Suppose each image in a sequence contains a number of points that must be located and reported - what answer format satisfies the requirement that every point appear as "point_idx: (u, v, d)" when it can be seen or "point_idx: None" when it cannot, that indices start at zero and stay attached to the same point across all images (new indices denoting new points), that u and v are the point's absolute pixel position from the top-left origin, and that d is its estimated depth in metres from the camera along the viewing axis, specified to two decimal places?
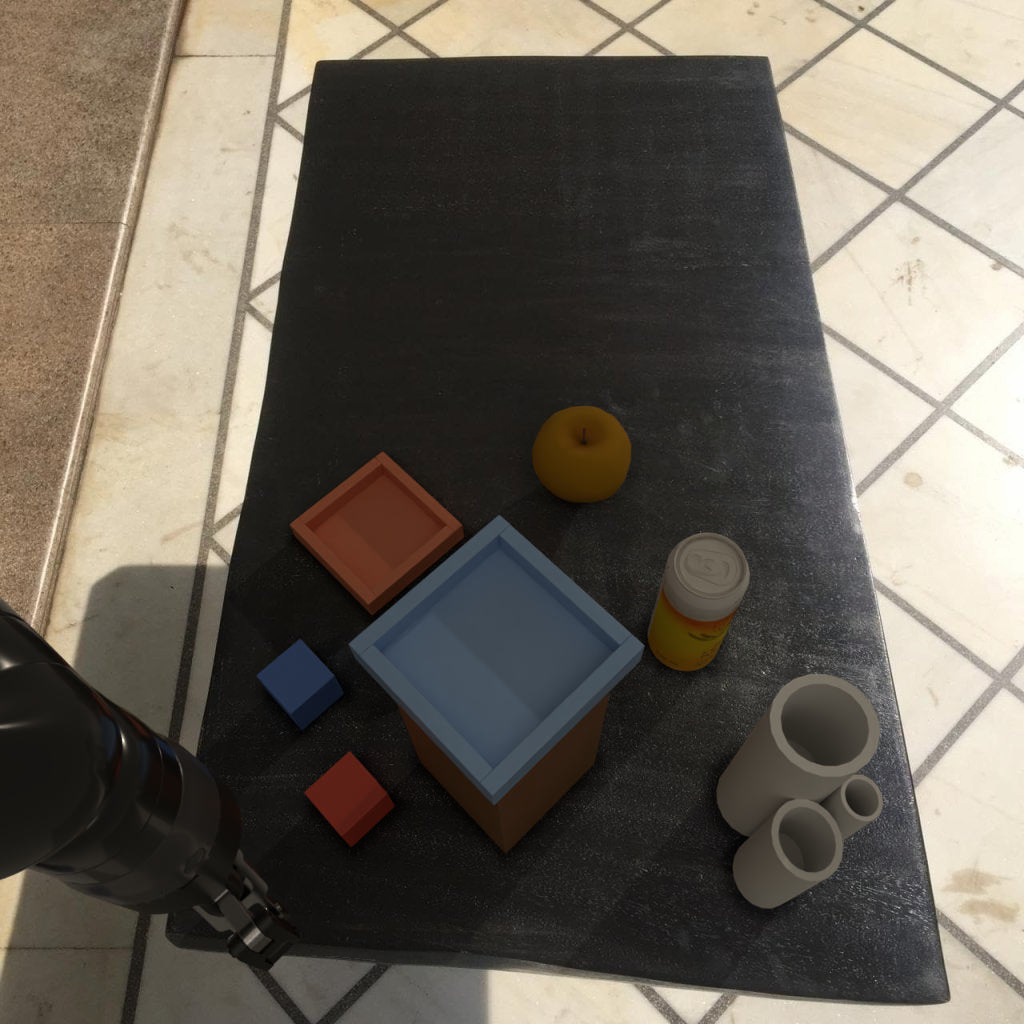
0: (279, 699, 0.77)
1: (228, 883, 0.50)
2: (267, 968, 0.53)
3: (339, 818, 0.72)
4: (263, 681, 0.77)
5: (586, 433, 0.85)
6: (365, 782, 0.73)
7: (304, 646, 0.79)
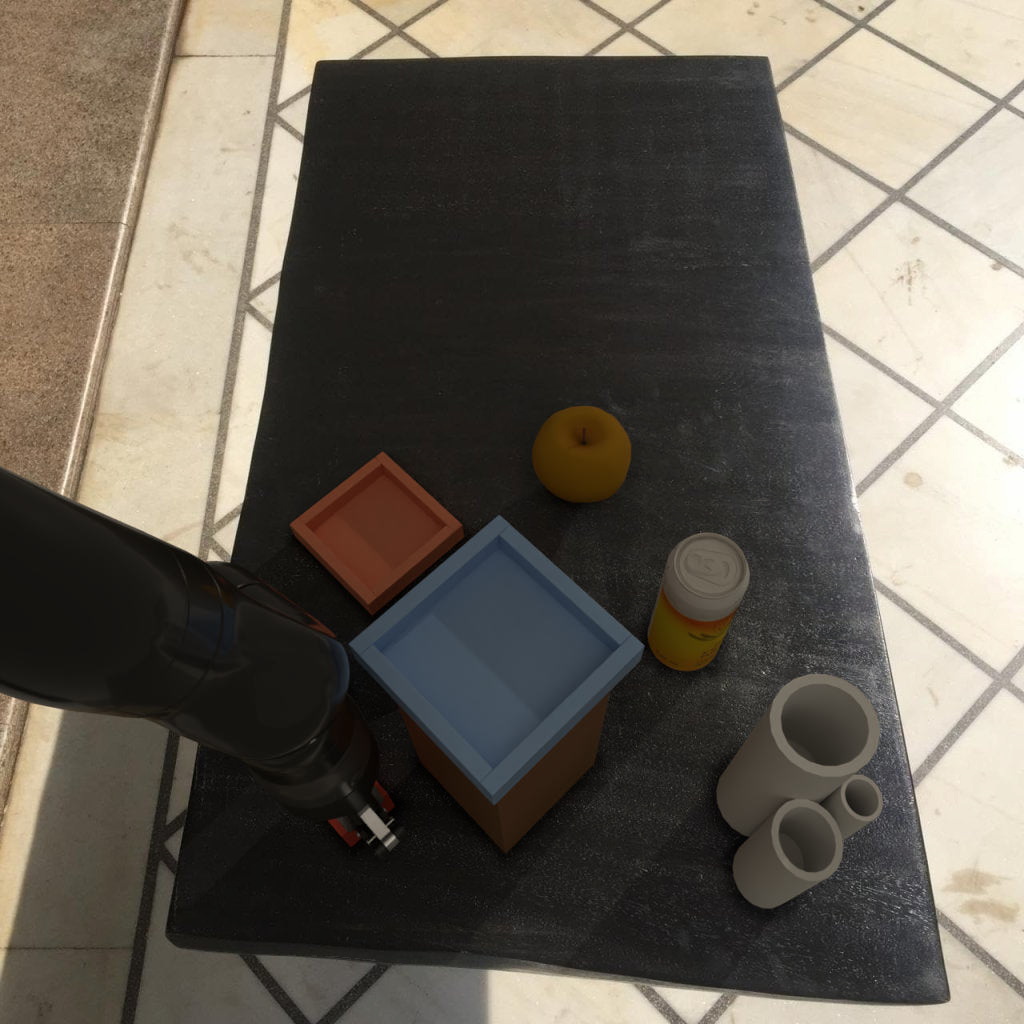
0: None
1: (369, 799, 0.65)
2: None
3: None
4: None
5: (586, 433, 0.85)
6: None
7: None
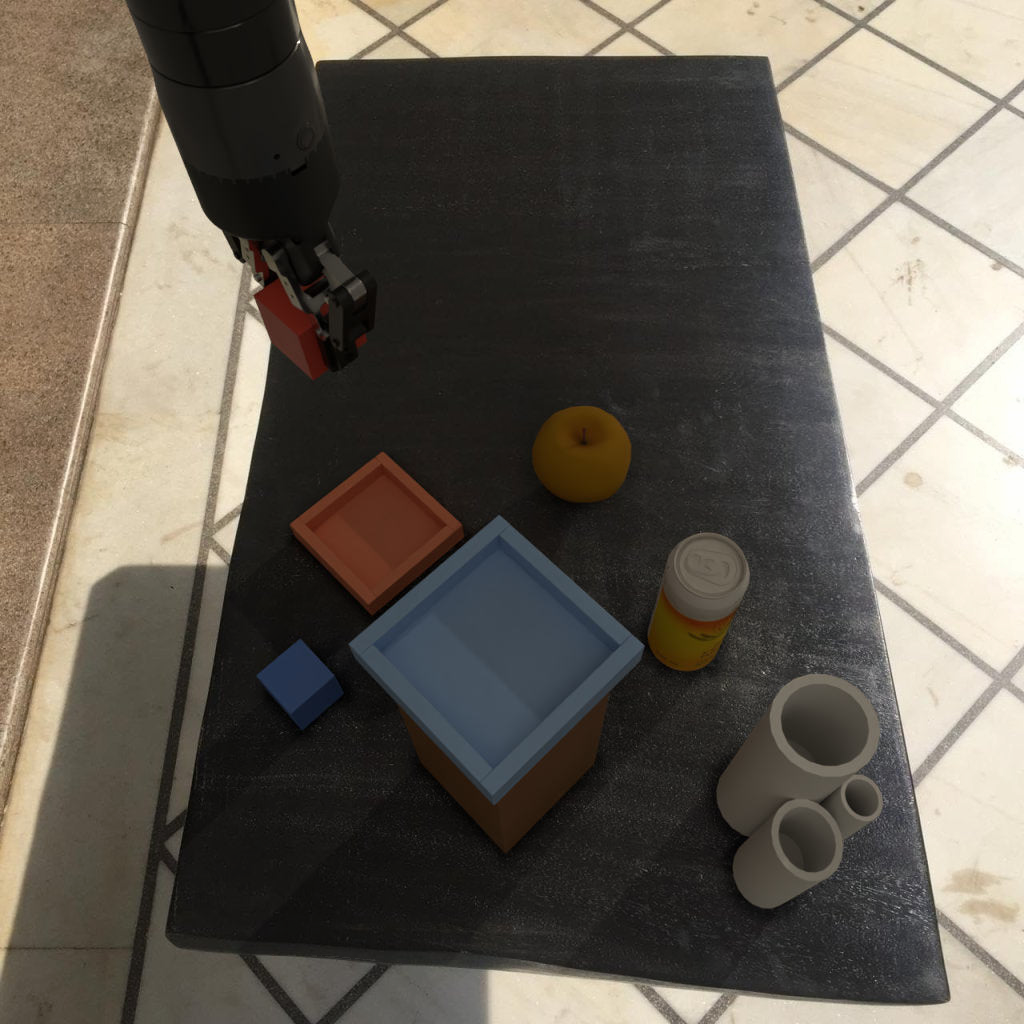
0: (279, 699, 0.77)
1: (327, 229, 0.51)
2: (344, 346, 0.56)
3: (295, 319, 0.58)
4: (263, 681, 0.77)
5: (586, 433, 0.85)
6: None
7: (304, 646, 0.79)
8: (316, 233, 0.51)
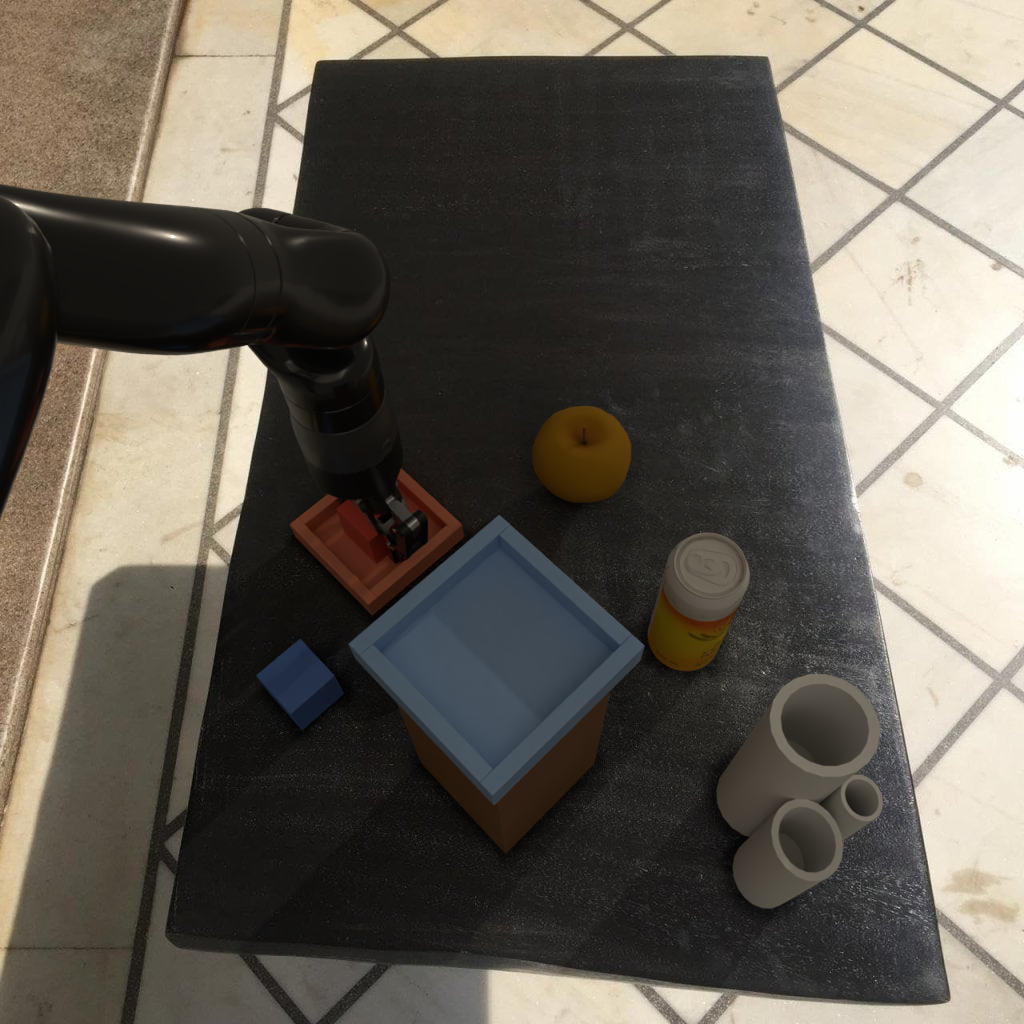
0: (279, 699, 0.77)
1: (395, 488, 0.77)
2: (407, 557, 0.81)
3: (366, 528, 0.83)
4: (263, 681, 0.77)
5: (586, 433, 0.85)
6: None
7: (304, 646, 0.79)
8: (388, 492, 0.76)
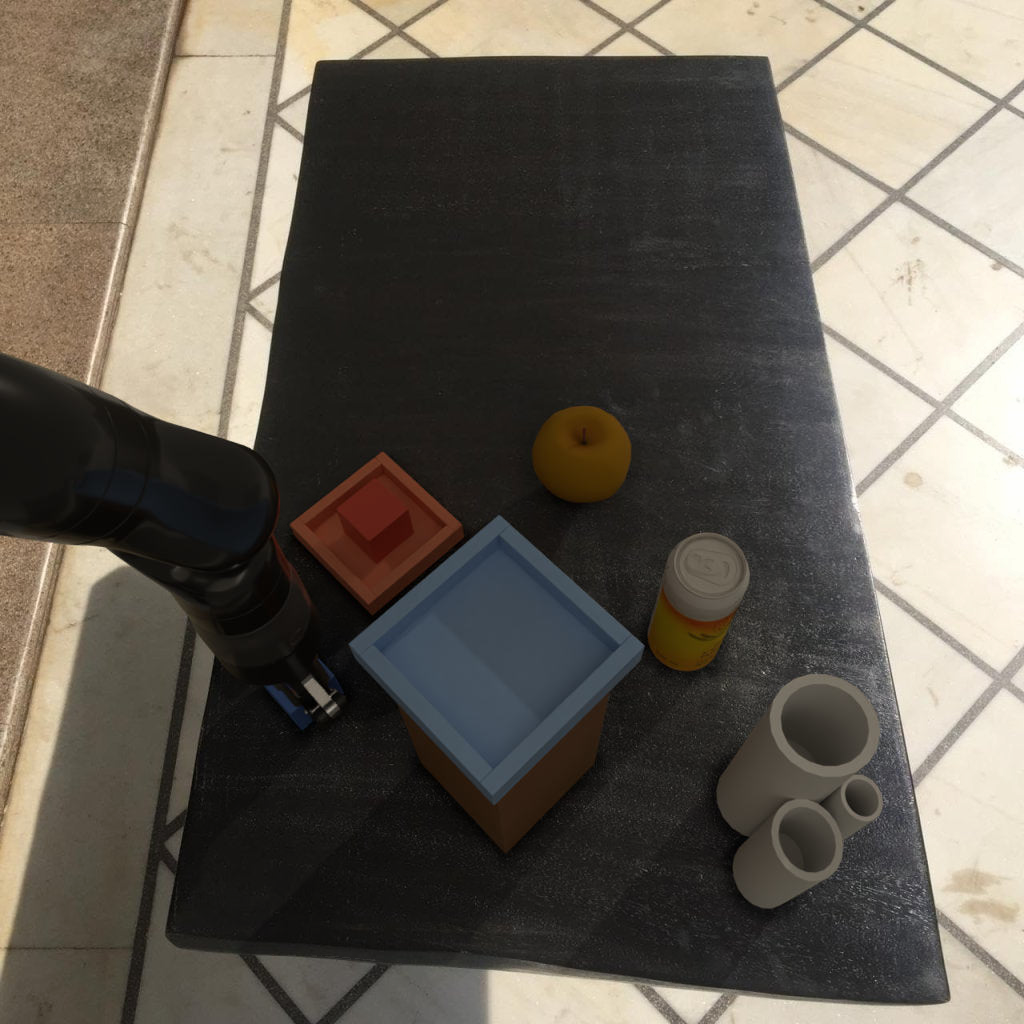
0: (279, 699, 0.77)
1: (312, 668, 0.70)
2: None
3: (366, 528, 0.83)
4: None
5: (586, 433, 0.85)
6: (389, 500, 0.84)
7: None
8: (303, 674, 0.69)
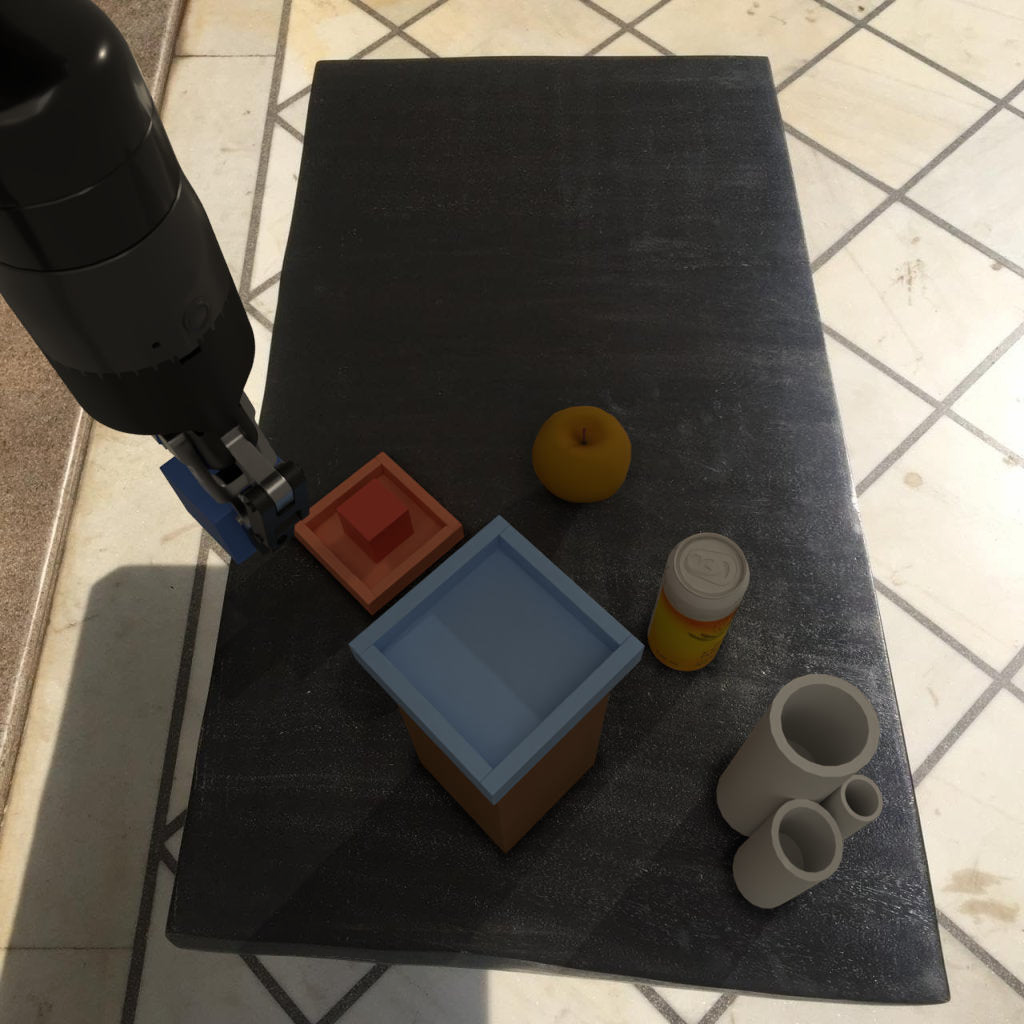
0: (196, 502, 0.46)
1: (239, 413, 0.39)
2: (271, 543, 0.44)
3: (366, 528, 0.83)
4: (170, 476, 0.47)
5: (586, 433, 0.85)
6: (389, 500, 0.84)
7: None
8: (223, 421, 0.39)
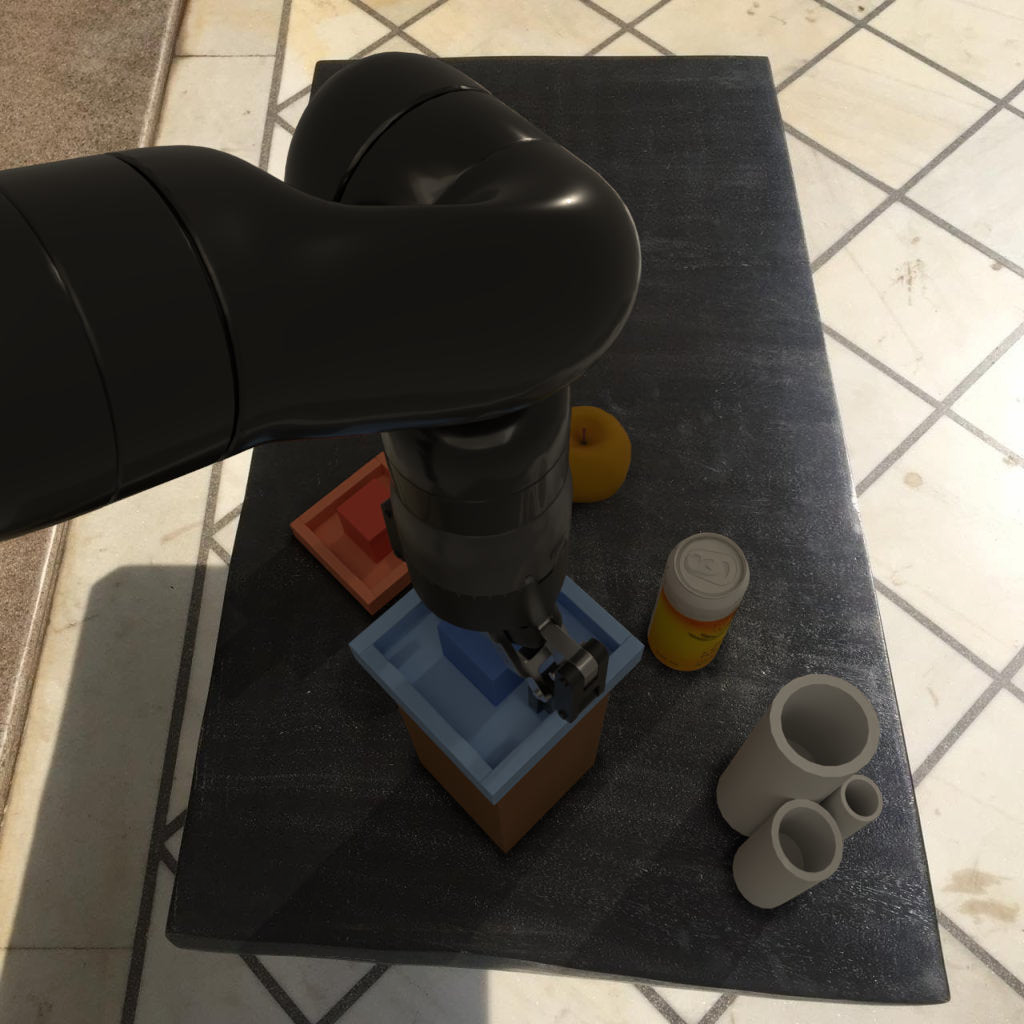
0: (474, 660, 0.52)
1: (554, 607, 0.45)
2: (574, 718, 0.48)
3: (366, 528, 0.83)
4: (448, 634, 0.53)
5: (586, 433, 0.85)
6: None
7: None
8: (544, 616, 0.45)
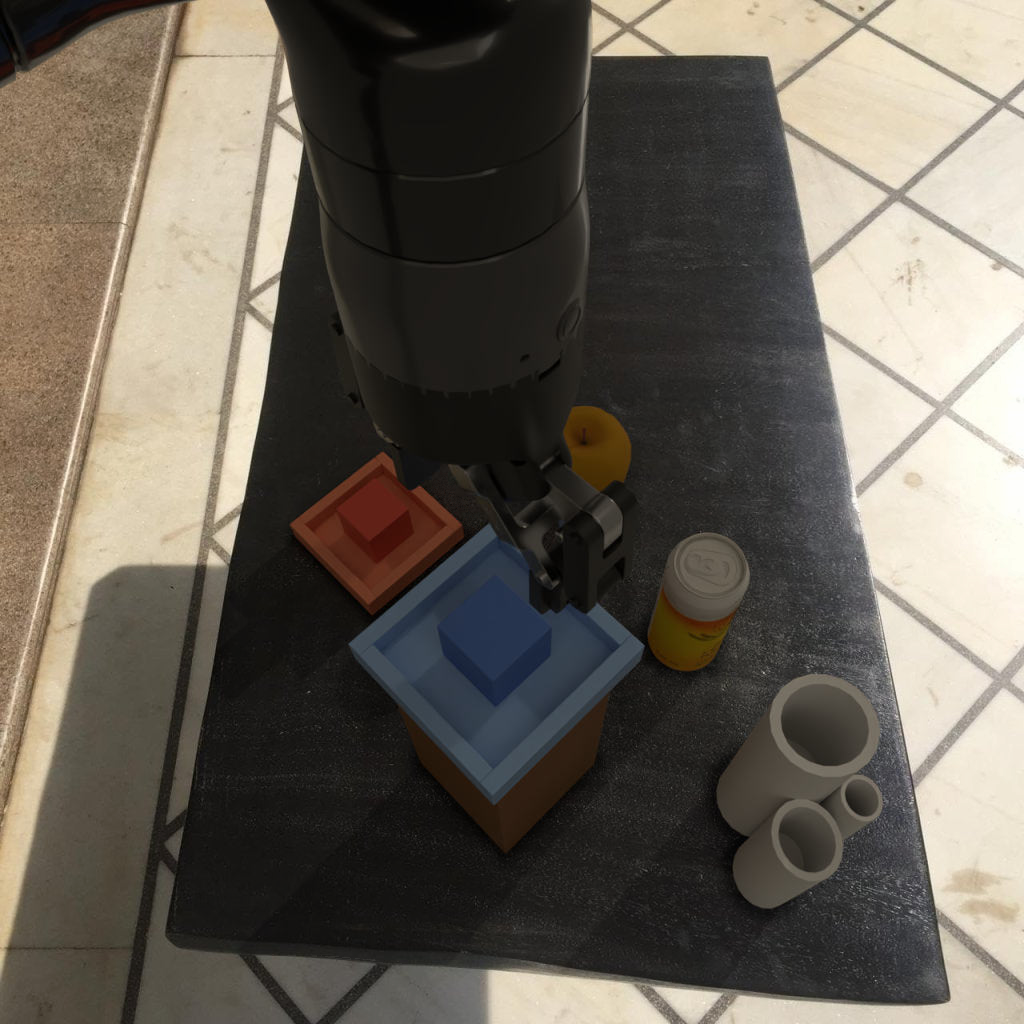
0: (474, 660, 0.52)
1: (562, 438, 0.33)
2: (591, 605, 0.36)
3: (366, 528, 0.83)
4: (448, 634, 0.53)
5: (586, 433, 0.85)
6: (389, 500, 0.84)
7: (503, 584, 0.54)
8: (548, 448, 0.32)
